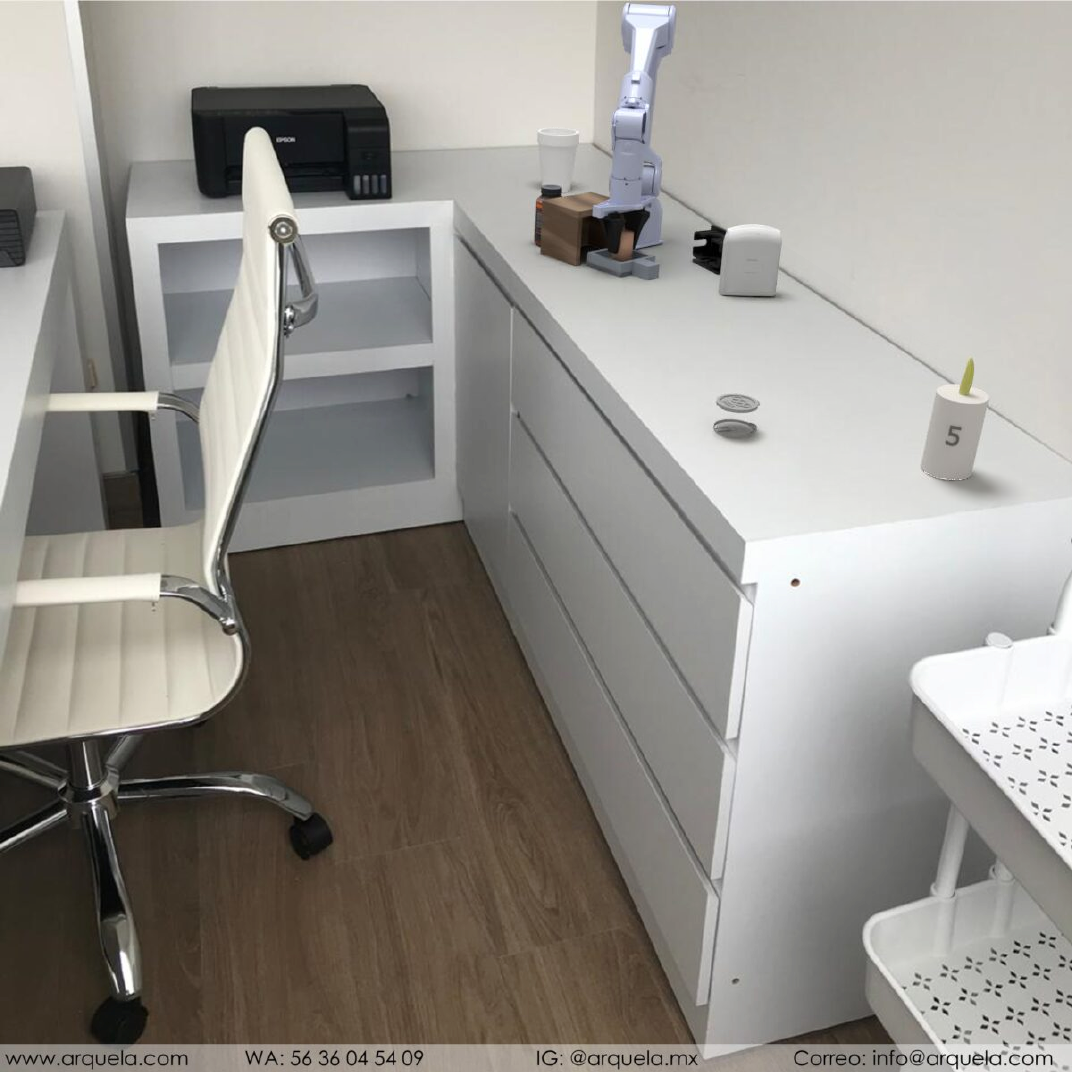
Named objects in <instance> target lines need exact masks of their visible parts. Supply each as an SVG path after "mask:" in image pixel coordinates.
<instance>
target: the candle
mask: <svg viewBox="0 0 1072 1072" xmlns="http://www.w3.org/2000/svg"><path fill="white" fill-rule="evenodd" d="M974 375H975V364H974V360H973V358H972V357H970V358H969V359H968V361H967V364H966V367H965V371H964V373H963V376H962V379H961V382H960V384H956V383H955V384H943V385H940V386H939V387H937V389H936V390H935V391H936V392H935V396H934V401H933V405H932V408H931V409H932V411H931V414H930V415H931V416H930V419H929V425H928V429H927V434H926V438H925V444H924V448H923V452H922V457H921V460H920V461H921V463H920V469H921V468H922V469H923V470H924V471H925V472H927V473H929V474H931V475H932V476H935V477H938V478H946V479H951V480H952V479H953V480H954V479H955V480H959V479H965V478H968V479H969V478H971V476H972V474H973V473H972V472H973V470H974V466H975V459H976V455H977V452H978V447H979V444H980V438H981V436H982V435H981V434H982V430H983V426H984V422H985V418H986V414H987V413H986V412H987V409H988V406H989V405H988V404H989V400H990V396H989V394H988V393H986V392H985V391H984V390H981V389H979V388H976V387H973V385H972V384H973V380H974ZM922 469H921V470H922ZM923 470H922V471H923ZM924 471H923V472H924ZM925 472H924V473H925ZM932 476H931V477H932ZM935 477H934V478H935ZM938 478H937V479H938ZM965 480H966V479H965Z"/></svg>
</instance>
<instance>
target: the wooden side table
mask: <svg viewBox="0 0 1072 1072" xmlns="http://www.w3.org/2000/svg"><path fill="white" fill-rule="evenodd" d="M609 199H610V196H607V195H603V194H601V193H597V192H593V191H588V192H582V193H577V194H570V195H565V196H562V197H559V198H553V199H548V200H542V224H541V246H540V251H539V252H540V254H541V255H544V256H546V257H549V258H552V259H555V260H558V261H561V262H564V263H566V264H569V265H572V266H574V267H577V266H580V264H581V263H580V261H581V248H582V247H585V246H590V247H592V248H595V249H598V250H601V249H606V248H607V243H606V238H605V234H604V231H603V228H602V225H601V223H600V221H599V219H598V218H597V217H594V216H593V206H594V205H598V204H600V203H602V202H605V201H607V200H609ZM619 215H620V218H623V213H619V214H618V216H619ZM623 229H625V225H624V227H623Z"/></svg>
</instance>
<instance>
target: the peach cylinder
mask: <svg viewBox="0 0 1072 1072" xmlns="http://www.w3.org/2000/svg"><path fill="white" fill-rule="evenodd" d="M633 239H634V232H633V231H631V230H627V229H623V230H622V233H621V239H620V247H619V251H618V254H613V253H611V259H613V260H616V261H629V260H632V252H633Z"/></svg>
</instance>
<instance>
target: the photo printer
mask: <svg viewBox="0 0 1072 1072" xmlns="http://www.w3.org/2000/svg"><path fill="white" fill-rule="evenodd" d="M726 230H727V231H726V235H725V237H724V242H723V251H722V261H721V271H720V275H719V284H718V293H719V294H720V295H721V296H751V297H755V296H756V297H759V296H760V297H774V296H775V295H776V293H777V291H776V290H777V284H778V276H779V268H780V261H781V260H780V259H781V252H782V244H783V243H782V241H783V240H782V234H781V231H780V230H779V229H778V228H775V227H772V226H768V225H764V224H756V223H752V224H750V223H749V224H739V225H735V226H732V227H729V228H727V229H726Z"/></svg>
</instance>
